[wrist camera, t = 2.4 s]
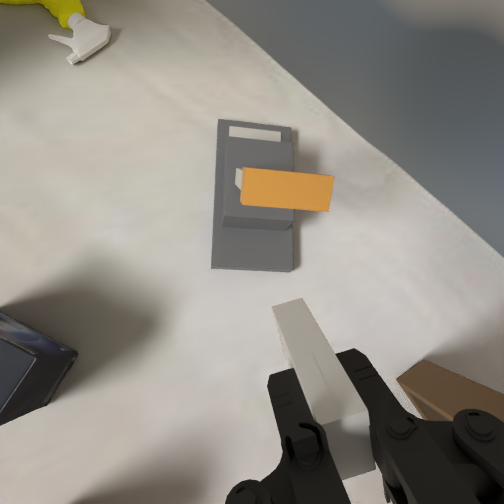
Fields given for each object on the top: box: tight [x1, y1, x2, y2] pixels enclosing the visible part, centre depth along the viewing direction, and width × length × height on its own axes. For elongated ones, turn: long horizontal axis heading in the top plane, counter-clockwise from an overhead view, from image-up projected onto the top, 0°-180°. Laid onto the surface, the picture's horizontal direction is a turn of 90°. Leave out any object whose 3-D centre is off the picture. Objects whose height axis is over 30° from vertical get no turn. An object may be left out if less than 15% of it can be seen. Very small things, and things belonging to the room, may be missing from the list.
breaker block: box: [211, 119, 294, 272], centre depth 41 cm, size 20×10×6 cm, turn 179°
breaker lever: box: [235, 167, 334, 212], centre depth 32 cm, size 3×7×13 cm, turn 89°
